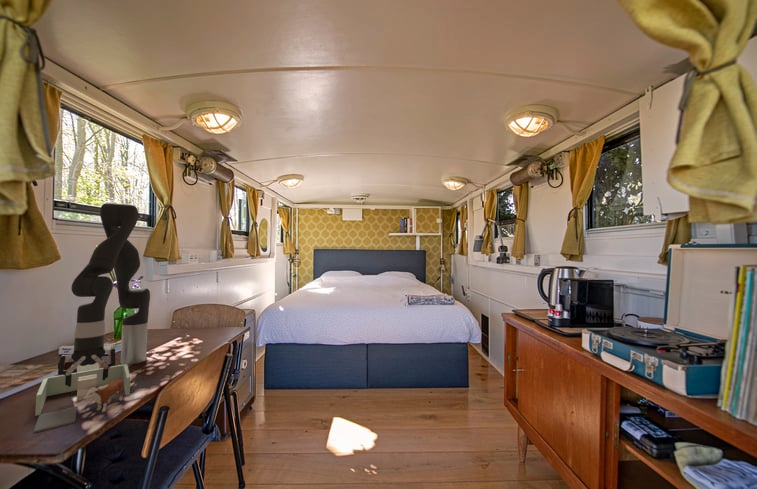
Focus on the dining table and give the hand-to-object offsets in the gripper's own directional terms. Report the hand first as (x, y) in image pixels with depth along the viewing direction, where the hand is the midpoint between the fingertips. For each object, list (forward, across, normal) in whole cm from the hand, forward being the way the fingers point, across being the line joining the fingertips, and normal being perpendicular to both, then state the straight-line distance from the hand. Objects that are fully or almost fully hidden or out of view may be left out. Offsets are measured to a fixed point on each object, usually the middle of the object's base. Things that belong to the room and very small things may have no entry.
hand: (87, 382), depth 105 cm
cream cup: (+5, 0, -20) cm, 21 cm away
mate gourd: (+4, +5, -29) cm, 30 cm away
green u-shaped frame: (+5, 0, -1) cm, 5 cm away
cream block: (+5, 0, 0) cm, 5 cm away
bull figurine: (+5, -5, +14) cm, 16 cm away
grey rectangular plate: (+5, +6, +15) cm, 17 cm away
